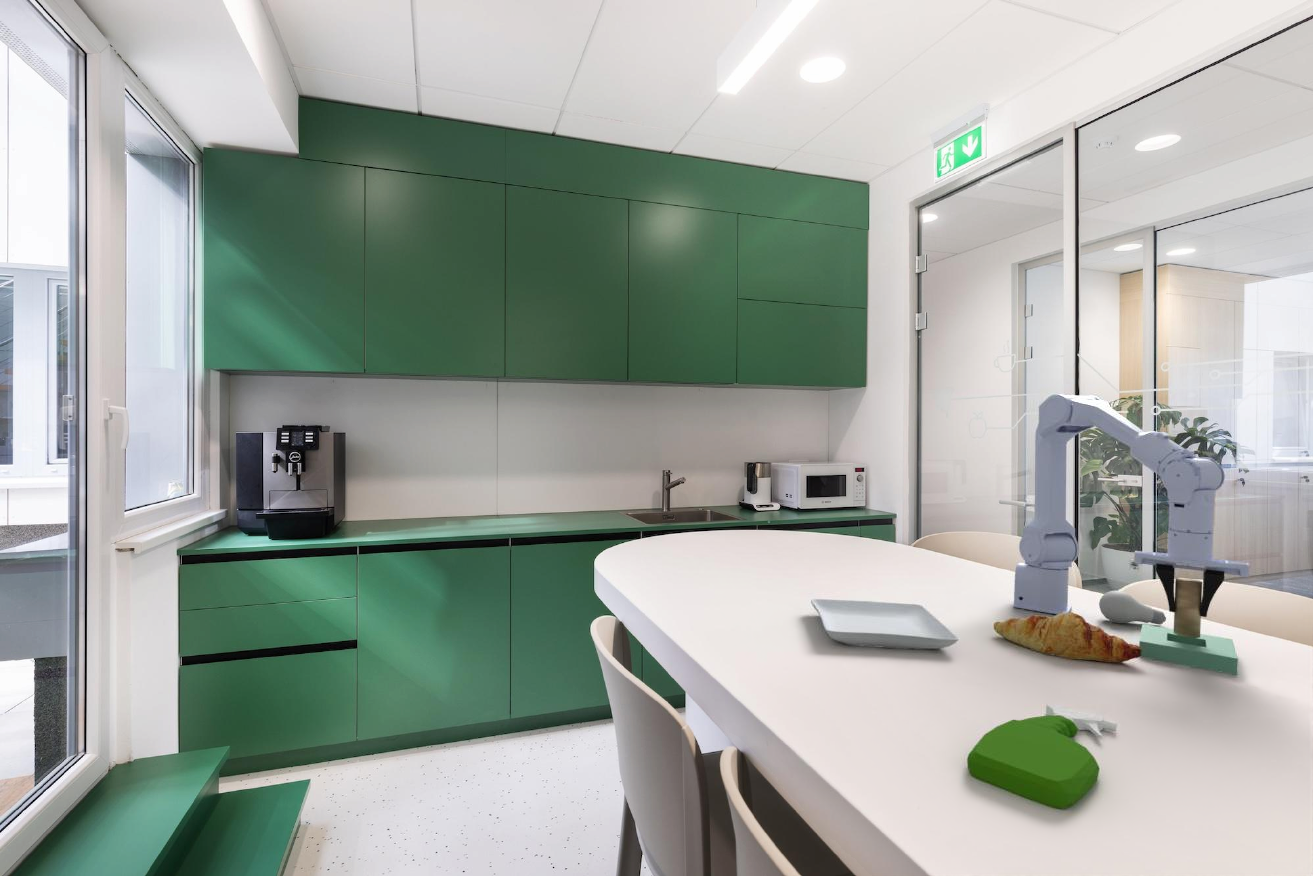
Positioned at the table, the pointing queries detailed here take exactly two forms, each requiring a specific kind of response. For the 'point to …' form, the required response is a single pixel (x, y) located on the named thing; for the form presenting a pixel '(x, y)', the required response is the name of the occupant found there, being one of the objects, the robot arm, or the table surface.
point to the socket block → (1189, 649)
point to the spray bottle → (1040, 757)
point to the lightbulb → (1128, 609)
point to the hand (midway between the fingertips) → (1187, 613)
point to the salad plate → (882, 624)
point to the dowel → (1187, 607)
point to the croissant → (1067, 638)
